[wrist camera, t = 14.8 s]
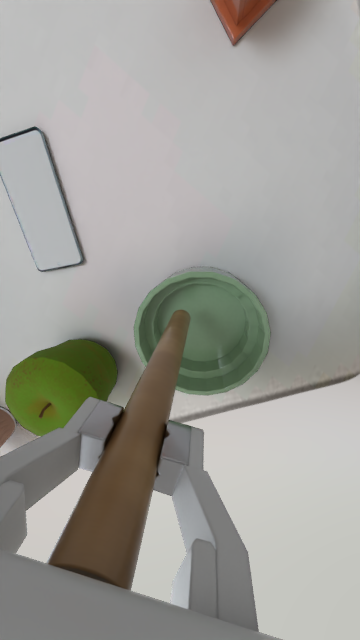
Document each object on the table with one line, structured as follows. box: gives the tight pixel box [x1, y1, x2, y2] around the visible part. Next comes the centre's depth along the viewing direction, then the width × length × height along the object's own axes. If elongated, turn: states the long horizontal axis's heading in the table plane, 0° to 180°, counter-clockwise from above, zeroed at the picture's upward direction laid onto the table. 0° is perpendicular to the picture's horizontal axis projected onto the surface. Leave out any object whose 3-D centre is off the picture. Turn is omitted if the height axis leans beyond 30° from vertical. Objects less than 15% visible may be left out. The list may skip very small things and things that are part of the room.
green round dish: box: [134, 267, 271, 395], centre depth 26 cm, size 15×15×6 cm
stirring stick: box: [46, 310, 191, 591], centre depth 13 cm, size 2×2×18 cm
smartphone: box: [0, 127, 83, 272], centre depth 25 cm, size 7×1×15 cm
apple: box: [5, 339, 117, 436], centre depth 28 cm, size 12×12×11 cm
